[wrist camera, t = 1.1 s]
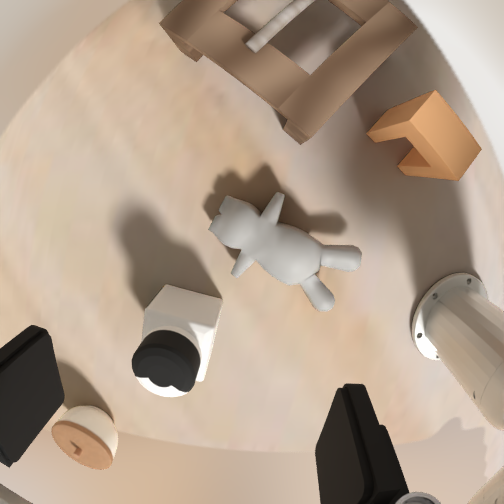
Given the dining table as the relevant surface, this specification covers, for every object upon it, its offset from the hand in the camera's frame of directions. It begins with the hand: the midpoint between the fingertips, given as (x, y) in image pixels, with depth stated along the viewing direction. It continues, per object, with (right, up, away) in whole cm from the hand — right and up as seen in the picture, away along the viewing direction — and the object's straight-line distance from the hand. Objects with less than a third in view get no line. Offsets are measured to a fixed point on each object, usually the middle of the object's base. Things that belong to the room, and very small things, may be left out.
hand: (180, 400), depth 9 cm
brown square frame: (+6, +27, +20) cm, 34 cm away
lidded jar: (-24, -23, +35) cm, 48 cm away
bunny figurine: (+5, +5, +26) cm, 27 cm away
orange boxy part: (+18, +16, +22) cm, 33 cm away
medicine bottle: (-5, -3, +28) cm, 29 cm away
